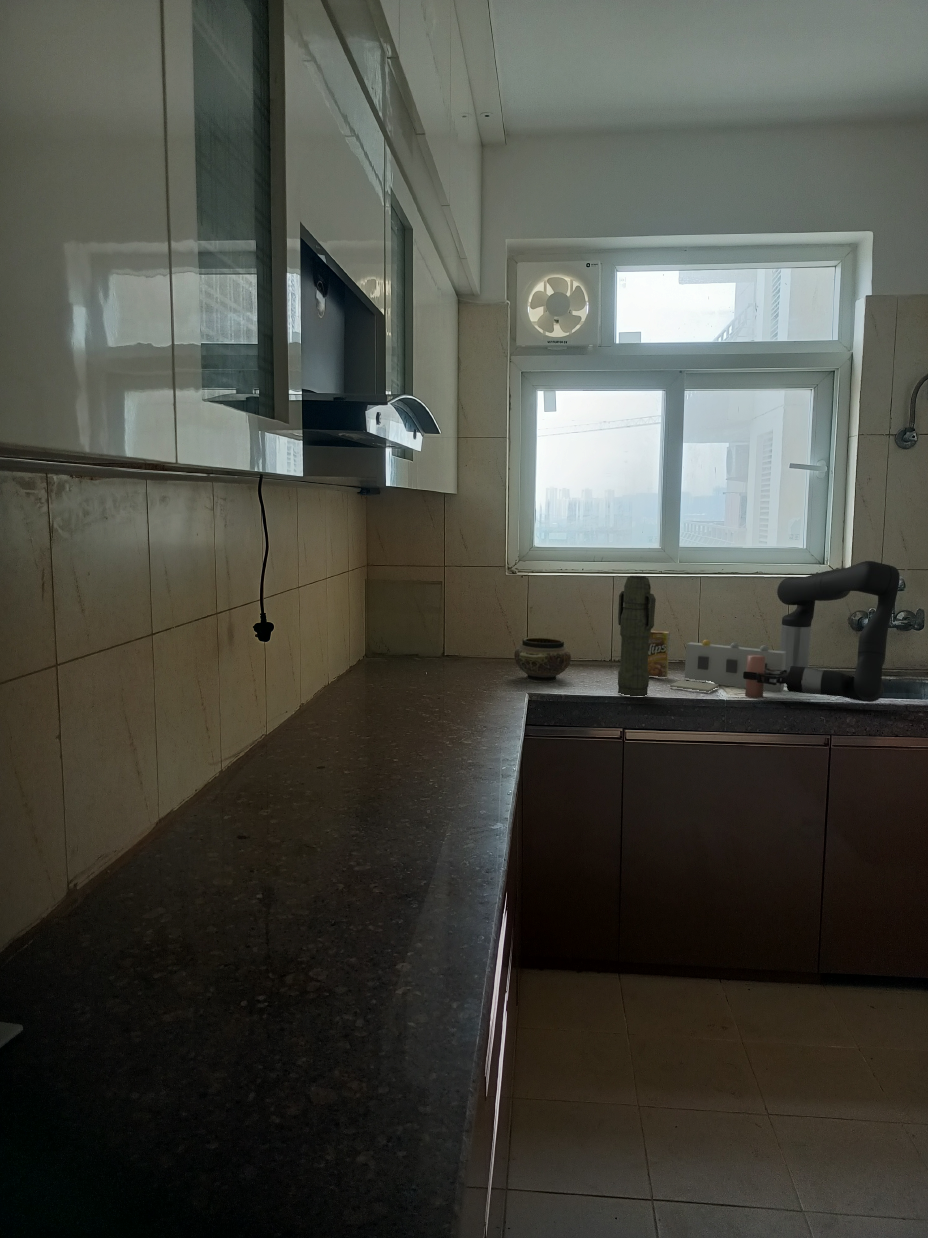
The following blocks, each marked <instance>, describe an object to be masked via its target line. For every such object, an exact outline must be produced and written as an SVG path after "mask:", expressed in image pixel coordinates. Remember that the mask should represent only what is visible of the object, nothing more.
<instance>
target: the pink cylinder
mask: <svg viewBox="0 0 928 1238" xmlns="http://www.w3.org/2000/svg"><path fill="white" fill-rule="evenodd" d="M747 671H748V672H757V673H758V672H760V673H764V671H765V656H760V655H748V656H747ZM761 679H764V677H763V676H761ZM763 686H764V683H758V682H757V681H756V680H749V679H746V688H745V690H744V694H745V697H746V698H751V697H762V698H764V690H763Z"/></svg>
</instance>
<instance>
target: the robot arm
mask: <svg viewBox="0 0 928 1238" xmlns="http://www.w3.org/2000/svg"><path fill="white" fill-rule="evenodd" d="M900 576H901V574H900V571H899V570H898V568H897V567H895V566H893V565H890V564H887V563H882V562H878V561H873V560H864V561H861V562H859V563H856V564H853V565H851V566H848V567H843V568H836V569H829V570H826V571H821V572H818V573H813V574H810V575H807V576H803V577H786V578H784V579H783V580H782V581H780V583H779V584H778V586H777V589H776V590H777V591H776V593H777V594H776V595H777V597H778V599H779V601H780V602H781V603H782V604H784V605H787V606H796V608H795V610H793V611H792V612H790V613H788V614H786V615H785V614H784V615H783V616H782V618H781V629H780V630H781V631H780V643H779V644H780V646H779V651H784V652H786V663H785V670H777V669H766V670H765V671H764V673H760V672H758V673H757V672H748V671H745V672H743V678H744V679H749V680H756V681H757V682H758V683H764V684H770V685H781V684H784V685H786V689H787V692H789V693H796V694H798V693H799V694H807V695H821V696H822V695H823V696H830V697H842V698H847V699H850V700H854V701H859V702H865V703H873V702H876V701H879V700H880V699H881V698H882V697H883V695H884V692H885V691H884V690H885V689H884V685H883V683H882V682H883V680H882V679H883V666H884V665H885V662H886V661H885V660H886V656H887V655H886V653H887V639H888V633H889V632H888V631H889V627H890V624H891V620H892V616H893V612H894V608H895V605H896V600H897V596H898V591H899V587H900V581H901V579H900ZM851 592H859V593H863V594H867V595H872V596H876V597H877V605H876V608H875V611H874V613H873V615H872V616H871V617H870V619H869V620H868V622H867V623H866V624H865V625H864V627H863V628H862V630H861V632H860V634H859V639H858V648H857V663H856V666H855V672H854V675H849V674H845V673H844V672H841V671H834V670H825V669H822V668H821V669H819V668H816V667H809V664H810V663H809V662H810V650H811V647H810V646H811V634H812V633H811V632H812V622H813V620H814V614H815V607H816V606H815V605H816V602H817V601H819V602H828V601H837V600H841V599H845V597H847V596H848V595H850V593H851ZM761 676H763V677H764V679H761Z"/></svg>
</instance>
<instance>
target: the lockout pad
mask: <svg viewBox="0 0 928 1238" xmlns="http://www.w3.org/2000/svg"><path fill="white" fill-rule="evenodd" d="M670 687H677V688H683V689H692V690H699V691H706V692H709V691H711V690H713V689H715V688H718V687H720V686H719V685H718V684H710V683H702V682H694V681H686V680H685V679H684V680H683V679H681V680H678V681H676V682H673V683H672V684H669V688H670Z"/></svg>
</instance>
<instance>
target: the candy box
mask: <svg viewBox="0 0 928 1238" xmlns="http://www.w3.org/2000/svg"><path fill="white" fill-rule="evenodd" d="M670 634H671V633H670V631H664V630H651V636H650V638H649V646H648V671H649V676H658V677H667V678H668V672H669V670H668V669H669V656H670V654H669V652H670V650H669V649H670Z"/></svg>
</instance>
